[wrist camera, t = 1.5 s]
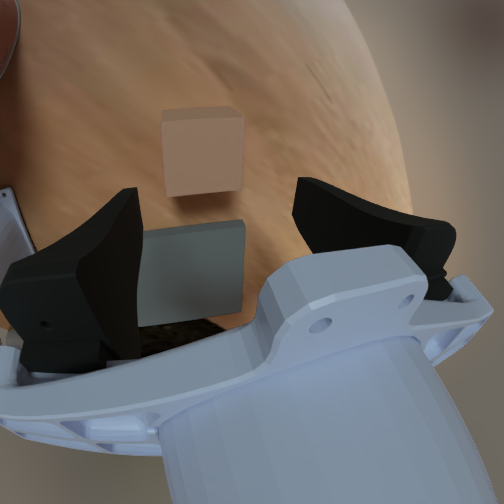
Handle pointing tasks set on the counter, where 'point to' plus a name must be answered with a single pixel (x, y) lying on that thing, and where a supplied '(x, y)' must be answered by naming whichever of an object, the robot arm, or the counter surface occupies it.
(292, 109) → the counter surface
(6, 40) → the canned food
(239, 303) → the slate board
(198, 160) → the terracotta cube
